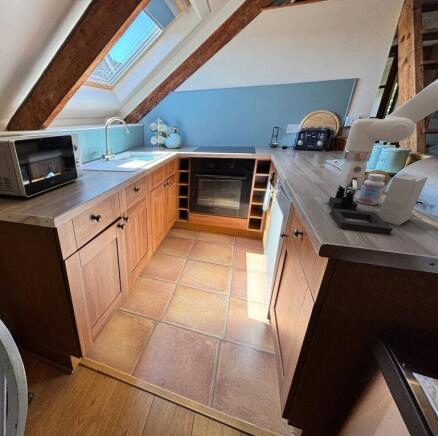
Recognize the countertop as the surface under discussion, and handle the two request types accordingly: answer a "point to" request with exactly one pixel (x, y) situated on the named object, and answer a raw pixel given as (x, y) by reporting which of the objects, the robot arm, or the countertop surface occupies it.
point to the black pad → (336, 204)
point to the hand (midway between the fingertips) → (342, 203)
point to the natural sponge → (378, 173)
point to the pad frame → (374, 227)
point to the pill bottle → (372, 189)
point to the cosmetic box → (401, 198)
